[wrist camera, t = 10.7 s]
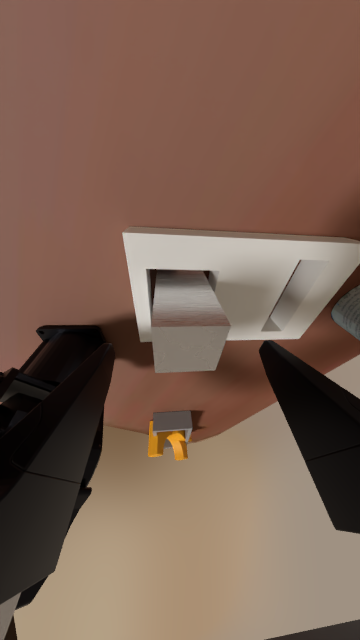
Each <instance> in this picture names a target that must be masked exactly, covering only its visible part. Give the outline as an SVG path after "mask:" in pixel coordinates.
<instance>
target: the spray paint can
mask: <svg viewBox="0 0 360 640" xmlns="http://www.w3.org/2000/svg"><path fill="white" fill-rule="evenodd" d="M331 317H332V319H333V320H334V321H335V322H336V323H337V324H338V325H340V326H341V327H342V328H344V329H345V330H346V331H348V332H349V333H350V334H352V335H353V336H354V337H356V338H357V339H358V340H360V285H359V286H357V287H356V288H354V289H352V290H351V291H349V292H348V293H347V294H346V295H344V296H343V297H342V298H341V299H340V300H339V301H338V302H337V303H336V305H335V306H334V308H333V310H332V312H331Z"/></svg>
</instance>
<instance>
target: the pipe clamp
mask: <svg viewBox="0 0 360 640" xmlns="http://www.w3.org/2000/svg"><path fill="white" fill-rule="evenodd" d="M166 439H168V440H169V441H170V442H171V444H172V447H173V450H174V453H175V460H183V459H187V458H188V456H187V446H186V443H185V430H179V431H165V432H157V436H153V421H150V429H149V447H148V456H149V457H156V456H160V455H163V448H164V443H165V441H166ZM190 441H192V440H191V434H190V437H189V440H188V442H190Z"/></svg>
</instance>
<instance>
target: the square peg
mask: <svg viewBox="0 0 360 640" xmlns="http://www.w3.org/2000/svg"><path fill="white" fill-rule="evenodd" d="M230 328H231V325H230V323H229V321H228V319H227V317H226V315H225V313H224V311H223V309H222V307H221V305H220V303H219V301H218V299H217V297H216V295H215V293H214V292H213V290H212V288H211V286H210V284H209V282H208V280H207V278H206V276H205V274H204V272H203V270H171V269H157V275H156V284H155V294H154V303H153V312H152V322H151V333H152V344H153V354H154V365H155V373H164V372H189V371H213V370H216V367H217V364H218V361H219V359H220V356H221V353H222V350H223V347H224V345H225V342H226V339H227V336H228V334H229V331H230Z"/></svg>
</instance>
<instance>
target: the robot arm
mask: <svg viewBox="0 0 360 640" xmlns="http://www.w3.org/2000/svg"><path fill="white" fill-rule="evenodd" d="M95 330H96V331H95ZM36 332H37V334H38V335H39V336H40V338H41V339H42V340H43V342H42V343H41V344H40V346H39V347H38V348H37V349H36V350H35V352H34V353H33V354H32V355H31V356H30V357H29V359H28V360H27V361H26V362H25V363H24V365H23V366H22V367H21V368H20V369H19V370H18V369H15V368H13V367H12V368H11V369H9V370H7V371H6V372H4V373H2V372H0V402H3V403H2V404H1V405H0V640H17V634H16V628H15V623H14V616H13V613H14V611H15V610H17V609H19V608H21V607H24V606H26V605H28V604H29V603H30V602H31V601H32V600H33V599H34V597H35V596H36V594H37V592H38V591H39V589H40V588H41V586H42V585H43V583H44V582H45V580H46V579H47V577H48V575H50V574H51V573H53V572H54V571H55V568H56V565H57V562H58V559H59V556H60V552H61V549H62V545H63V542H64V539H65V537H66V535H67V532H68V530H69V528H70V526H71V524H72V522H73V520H74V518H75V517H76V515H77V513H78V511H79V509H80V508H81V506H82V505H83V504H84V502H85V501H86V500H87V498H88V497H89V496H90V494H91V491H92V488H91V487H87V485H88V484H89V481H90V480H91V478H92V476H93V474H94V471H95V469H96V467H97V465H98V462H99V459H100V456H101V452H102V438H103V417H104V403H105V400H106V396H107V393H108V390H109V386H110V382H111V377H112V372H113V366H114V360H115V351H114V348H113V345H112V344H111V343H107V342H106V341H105V339H104V336H103V334H102V331H101V329H100V328H99V327H97V326H51V327H39V328H38V329H37V330H36ZM259 354H260V357H261V360H262V363H263V366H264V369H265V372H266V375H267V377H268V380H269V382H270V384H271V386H272V389H273V391H274V393H275V395H276V398H277V400H278V402H279V404H280V406H281V409H282V411H283V413H284V415H285V417H286V420H287V422H288V424H289V427H290V429H291V431H292V433H293V436H294V438H295V440H296V442H297V445H298V447H299V449H300V451H301V454H302V456H303V458H304V460H305V463H306V465H307V467H308V470H309V472H310V474H311V476H312V478H313V481H314V483H315V485H316V488H317V490H318V492H319V494H320V497H321V499H322V501H323V503H324V505H325V508H326V510H327V512H328V514H329V517H330V519H331V521H332V523H333V525H334V527H335V529H336V530H340V531H346V532H353V533H359V534H360V399H359V398H357V397H356V396H354V395H353V394H351V393H350V392H348V391H347V390H345V389H344V388H342V387H340V386H339V385H338V384H336V383H335V382H333V381H332V380H330V379H328V378H327V377H326V376H324V375H323V374H321V373H320V372H318V371H317V370H315V369H314V368H312V367H311V366H309V365H308V364H306V363H305V362H303V361H302V360H301V359H299V358H298V357H296V356H295V355H293V354H292V353H290V352H289V351H287V350H286V349H284V348H283V347H281V346H280V345H278V344H277V343H275V342H274V341H271V340H266V341H264V342H263V344H262V345H261V347H260V349H259ZM266 640H360V620H355V621H350V622H345V623H341V624H336V625H332V626H327V627H322V628H317V629H313V630H308V631H303V632H299V633H294V634H289V635H285V636H280V637H275V638H271V639H266Z"/></svg>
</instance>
